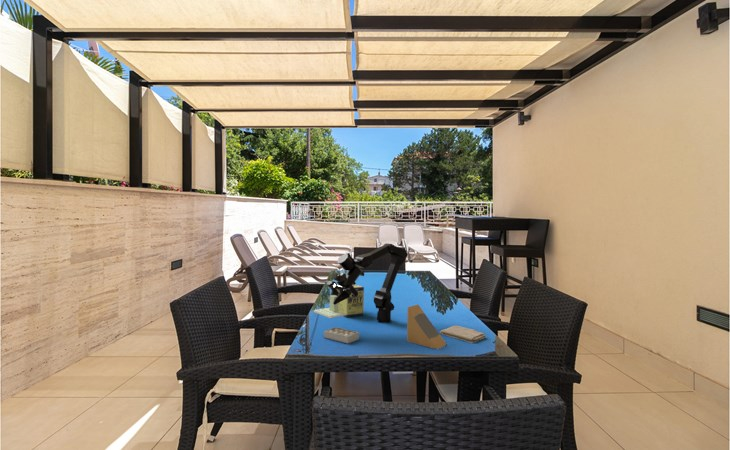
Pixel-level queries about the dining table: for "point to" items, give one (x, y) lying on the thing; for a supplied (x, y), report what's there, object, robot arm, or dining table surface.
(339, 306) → the protein box
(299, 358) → the dining table surface
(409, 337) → the sandwich container
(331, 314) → the pale green grooved stand
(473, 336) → the washcloth
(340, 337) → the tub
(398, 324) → the dining table surface
